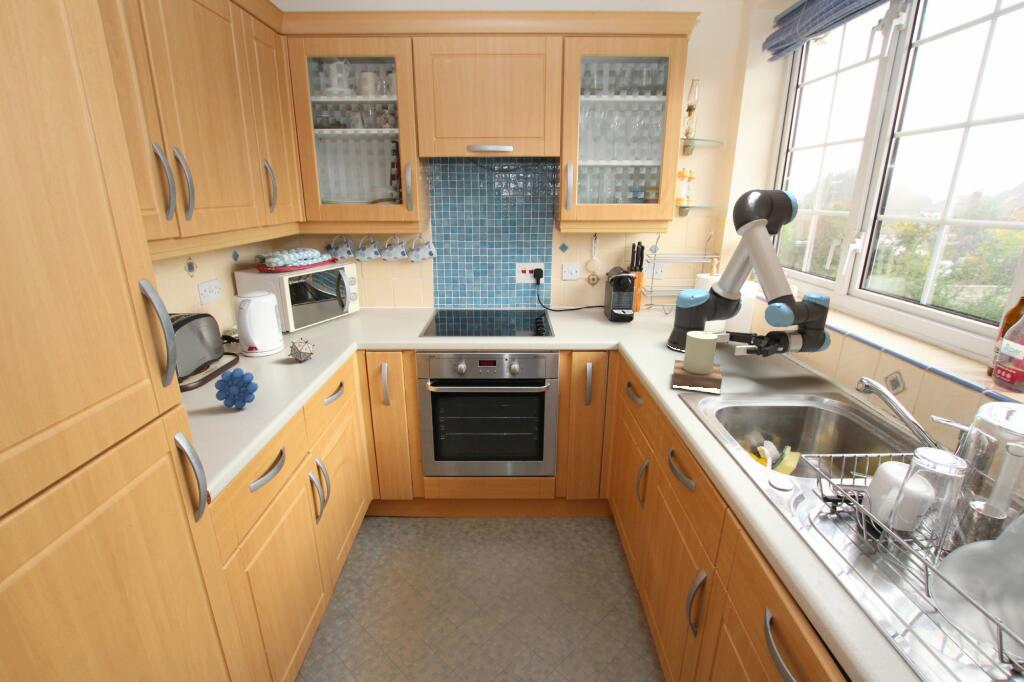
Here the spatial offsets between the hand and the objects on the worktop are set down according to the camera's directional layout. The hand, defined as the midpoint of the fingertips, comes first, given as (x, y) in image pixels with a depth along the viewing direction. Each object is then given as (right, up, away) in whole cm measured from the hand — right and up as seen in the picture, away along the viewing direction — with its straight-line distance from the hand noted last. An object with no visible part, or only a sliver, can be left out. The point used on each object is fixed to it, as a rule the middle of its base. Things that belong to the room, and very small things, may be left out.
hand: (722, 344), depth 150 cm
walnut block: (-8, -13, +3) cm, 15 cm away
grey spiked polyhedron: (-143, -6, +19) cm, 144 cm away
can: (-8, -8, +1) cm, 11 cm away
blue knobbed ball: (-143, -18, -19) cm, 146 cm away
